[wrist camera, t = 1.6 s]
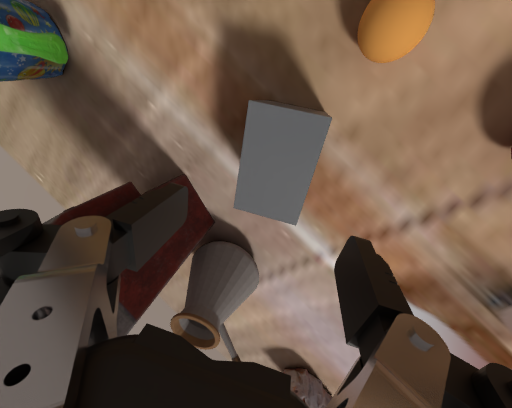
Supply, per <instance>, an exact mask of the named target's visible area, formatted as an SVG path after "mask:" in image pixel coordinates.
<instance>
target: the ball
mask: <svg viewBox="0 0 512 408" xmlns="http://www.w3.org/2000/svg"><path fill="white" fill-rule="evenodd" d="M434 10H435V0H371V1H370V3H369V4H368V6H367V7H366V9H365V11H364V13H363V15H362V17H361V20H360V23H359V27H358V44H359V47H360V50H361V52H362V53H363V55H364V56H365V57H366V58H368V59H369V60H371V61H373V62H377V63H386V62H391V61H394V60H397V59H399V58H401V57H403V56H404V55H406V54H407V53H409V52H410V51H411V50H412V49H413V48H414V47H415V46H416V45H417V44H418V43H419V42H420V41H421V39H422V38H423V37H424V35H425V34H426V32H427V30H428V28H429V26H430V24H431V21H432V18H433V15H434Z"/></svg>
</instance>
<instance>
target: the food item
mask: <svg viewBox="0 0 512 408" xmlns="http://www.w3.org/2000/svg"><path fill="white" fill-rule="evenodd" d="M284 373H285V374H288V375H290V376H291V388H290V390H291V391H292V392H294V393H295V394H296V395H297V396H298V397H299V398H300V399H301V400H303V401H304V403H305V404H306V405H307V406H308V407H309V408H325V407H326V406H327V405H328V403H329V402H330V400H331V399H332V398H333V397H332V396H331V395H330V394H328V393H327V392H326V390H324V389H323V386H322V381H321V380H319V379H318V378H315V377H314V376H313V375H311V374H309V373H308V371H307V369H302V368H301V369H300V368H292V369H284Z"/></svg>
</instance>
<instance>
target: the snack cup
mask: <svg viewBox="0 0 512 408" xmlns="http://www.w3.org/2000/svg"><path fill="white" fill-rule="evenodd" d="M67 60H68V54H67V48H66V45H65V43H64V42H63V39H62V36H61V34H60V32H59V30H58V29H57V27H56V25H55V24H54V22H53V21H52V20H51V19H50V17H49V15H48V14H47V13H46V12H45V11H44V10H43V9H41V8H39V7H37V6H36V5H34V4H33V3H31V2H29V1H27V0H0V81H15V80H25V79H40V78H52V77H56V76H59V75H62V74H63V72H62V71H63V69H64V67H65V64H66V62H67Z"/></svg>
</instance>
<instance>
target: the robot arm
mask: <svg viewBox="0 0 512 408" xmlns="http://www.w3.org/2000/svg"><path fill="white" fill-rule="evenodd" d="M187 211H188V188H187V187H186V186H182V185H179V184H176V183H169V184H168V185H166V186H164V187H163V188H161V189H156V190H153V191H149V192H147V193H145V194H143V195H141V196H140V197H139V198H136V199H135V200H133V201H132V202H130V203H128V204H126V205H124V206H123V207H121V208H119V209H118V210H116V211H114V212H112V213H111V214H109V215H107V216H106V217H102V216H84V217H79V218H76V219H73V220H71V221H68V222H67V223H65V224H64V225H52V224H41V221H40V218H39V216H38V214H37V213H36V212H35V211H32V210H28V209H11V210H4V211H0V408H309V407H308V406H307V405H306V404H305V403H304V401H303V400H301V399H300V398H299V397H298V396H297V395H296V394H295V393H294V392H292V391H291V390H290V388H291V376H290V375H288V374H285V373H282V372H279V371H277V370H274V369H271V368H268V367H266V366H263V365H260V364H257V363H255V362H237V361H216V360H212V359H210V358H209V357H207V356H206V355H205V354H204V353H202V352H201V351H199V350H198V349H197V348H196V347H194V346H193V345H192V344H191V343H189V342H188V341H187V340H185V339H184V338H183V337H182V336H180V335H177V334H175V333H171V332H169V331H166V330H164V329H161V328H158V327H155V326H153V325H150V324H146V326H145V327H144V328H143V330H142V331H141V332H140V334H139V335H125V336H119V337H117V311H118V302H119V292H120V283H121V274H120V273H121V272H122V271H124V270H125V269H126V268H127V269H130V270H133V271H136V272H137V271H138V270H139V269H140V268H141V267H142V266H143V265H144V264H145V263H146V262H147V261H148V260H149V259H150V258H151V257H152V256H153V255H154V254H155V253H156V252H157V251H158V250H159V249H160V248H161V247H162V246H163V245H164V244H165V243H166V242H167V241H168V240H169V239H170V238H171V237H172V236H173V234H174V233H175V232H176V231H177V230H178V229H179V228H180V227H181V226H182V225H183V224H184V222H185V220H186V218H187ZM334 273H335V279H336V285H337V291H338V297H339V303H340V309H341V314H342V320H343V326H344V332H345V338H346V344H347V345H350V346H353V347H356V348H359V351H360V356H359V357H358V359H357V360H356V361H355V363H354V364H353V366H352V368H351V369H350V371H349V372H348V374H347V376H346V377H345V379H344V380H343V382H342V383H341V385H340V387H339V388H338V390H337V391H336V393H335V394H334V396H333V398H332V399H331V400H330V402H329V403H328V405H327V406H326V407H325V408H512V370H511V369H509V368H507V367H505V366H503V365H500V364H497V363H489V364H488V365H486V366H484V367H483V368H481V369H480V370H479V369H477V368H475V367H474V366H472V365H470V364H469V363H467V362H465V361H463V360H462V359H460V358H458V357H456V356H454V355H453V354H451V353H450V352H449V349H448V347H447V345H446V344H445V342H444V341H443V339H442V338H441V337H440V335H439V334H438V333H437V332H436V331H435V330H434V329H433V328H432V327H430V326H429V325H428V324H426V323H425V322H424V321H422V320H421V319H419V318H417V317H415V316H414V315H413V313H412V311H411V309H410V307H409V305H408V303H407V301H406V299H405V297H404V295H403V293H402V291H401V289H400V287H399V285H397V281H396V279H395V277H394V276H393V273H392V271H391V269H390V267H389V265H388V264H387V263H386V262H385V261H384V260H383V258H382V257H381V256H380V255H378V254H376V252H375V250H374V248H373V246H372V243H371V242H370V241H369V240H366V239H362V238H359V237H356V236H350V237H349V239H348V240H347V242H346V244H345V246H344V248H343V249H342V251H341V253H340V255H339V257H338V258H337V261H336V263H335V268H334Z"/></svg>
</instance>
